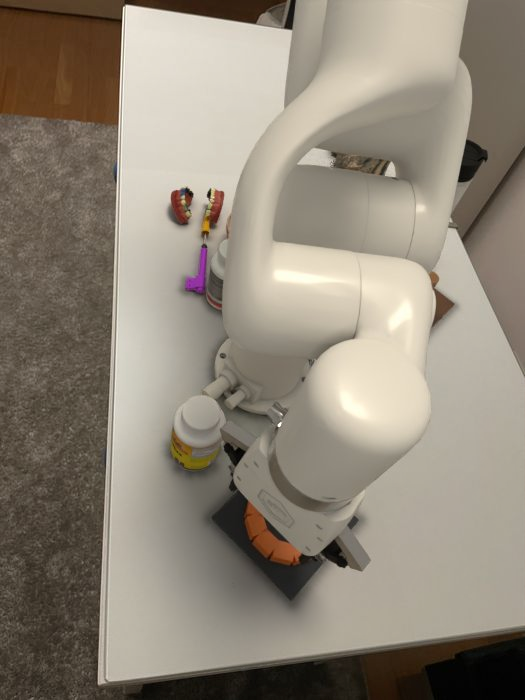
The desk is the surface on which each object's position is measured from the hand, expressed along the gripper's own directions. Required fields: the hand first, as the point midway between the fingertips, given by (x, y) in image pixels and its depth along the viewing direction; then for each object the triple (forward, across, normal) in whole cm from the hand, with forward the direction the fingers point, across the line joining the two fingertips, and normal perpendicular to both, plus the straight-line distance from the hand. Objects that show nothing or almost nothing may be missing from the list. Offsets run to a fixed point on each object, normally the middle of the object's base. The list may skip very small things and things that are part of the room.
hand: (274, 514), depth 56 cm
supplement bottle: (+7, -12, +1) cm, 14 cm away
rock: (+5, -35, +56) cm, 66 cm away
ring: (+6, +1, +3) cm, 7 cm away
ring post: (+8, -7, +42) cm, 43 cm away
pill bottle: (+8, -26, +20) cm, 34 cm away
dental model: (+6, -37, +31) cm, 49 cm away
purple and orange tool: (+9, -34, +22) cm, 42 cm away
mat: (+6, +1, +3) cm, 7 cm away
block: (+11, -35, +60) cm, 71 cm away
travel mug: (+9, -14, +50) cm, 52 cm away
